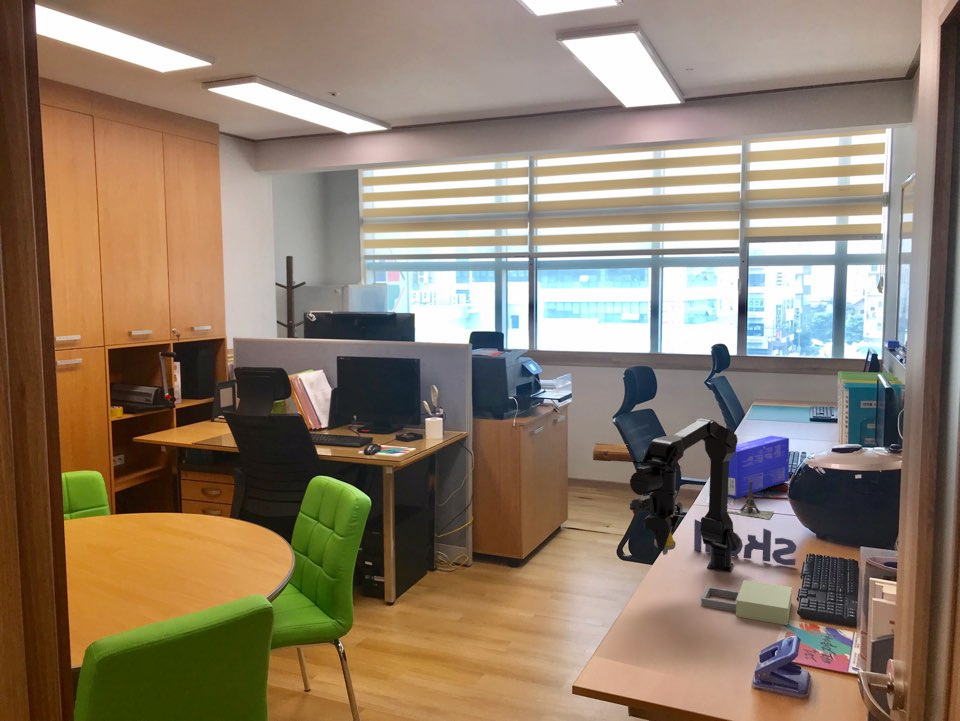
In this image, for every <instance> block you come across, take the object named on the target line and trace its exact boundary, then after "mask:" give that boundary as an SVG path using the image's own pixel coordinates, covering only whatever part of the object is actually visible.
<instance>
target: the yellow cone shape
mask: <svg viewBox="0 0 960 721" xmlns="http://www.w3.org/2000/svg"><path fill="white" fill-rule="evenodd" d="M653 544H654V546H655V547H656V548H657V549H658V546H657V542H656V539H655V538H654V542H653ZM675 548H676V541H675V540H674V537H673V533H672V534H671V532H670V534H669V537H668V539H667V542H666V545H665V547H664V549H663V551H661V552H662V554H663V556H666V555H668V552H669V551H671V550H673V549H675Z"/></svg>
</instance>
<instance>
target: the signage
mask: <svg viewBox="0 0 960 721" xmlns="http://www.w3.org/2000/svg"><path fill="white" fill-rule="evenodd" d="M693 524H694V534H693V535H694V539H693V540H694V542H693V551H696V552H700V553H701V552H702V545H703V544H702V543H703V539H702V535H701V531H700V528H701V520H697V519H696V518H695V519H694V523H693ZM734 533H735V534H736V536H737V537H738V539H739V540H740V544H739V548H737V550H736V551H731V557H734V558H735V559H740V557H739V554H741V552H742V549H743V559H749V560H750V559H752V551H753V550H759V551H762V562H771V556H772V559H773V560H774V561H775V562H776V563H777V564H780V565H784V566H796V558H783V557H781V556H786V555H791V554H794V553H795V552H796V551H797V544H796V543H795V542H794V541H793V540H791V539H789V538H784V537H775V538H774V544H775V545H785V546H786V547H782V548H777V549H774V550H773V551H772V553H771V548H772V547H771V545H772V542H771V541H772V531H771V530H769V529H766V528H763V533H762V541H761V542H760V541H758V540H757V535H755V534H747V541H748V543H747V544H745V545H743V539H742V538H741V537H740V536H739V534H738V533H736V532H734ZM704 546H705V548H704V549H705V550H704V552H705V553H709V554H710V545H707V544H704ZM771 554H772V555H771Z"/></svg>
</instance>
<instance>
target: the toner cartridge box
mask: <svg viewBox="0 0 960 721" xmlns="http://www.w3.org/2000/svg"><path fill="white" fill-rule="evenodd" d="M789 452H790V438H789V437H784V436H776V435H775V436H774V435H767V436H763V437H760V438H755V439H752V440H748V441H745V442H744V441H743V442H741V443H737V445H736V452H735V454H734V455H733V456H732V458H731V459H730V461H729V480H728V498H732V499H739V498H742V497H745V496H746V497H747V496H748V495H749V487H750V479H752V494H754V493H757V492H758V493H759V492H761V491H764V490H767V489H769V488H771V486H772V487H775V486H779V485H780V484H783V483H784V484H785V483H786V482H789V480H790V478H789V477H790V476H789V475H790V473H789V472H790V469H789V468H790V467H789V466H790V465H789V463H790V457H789V456H790V453H789ZM774 485H775V486H774ZM768 487H769V488H768ZM766 488H767V489H766Z"/></svg>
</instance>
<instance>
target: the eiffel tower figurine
mask: <svg viewBox="0 0 960 721" xmlns="http://www.w3.org/2000/svg"><path fill="white" fill-rule="evenodd" d="M746 497H747V498H746V502H744V505H743V506H742V507H741V508H740V509H738V511H739V512H738V511H730V510H729V511H727V512H728V514H733V515H739V516H747V517H748V516H749V517H754V518H760V519H765V520H771V517H772V515H773V514H774V510H773V511H772V510H761V509H759V508H758V507H757V503H755V500H754V496H753V493H752V479H750V487H749V495H747V496H746Z"/></svg>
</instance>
